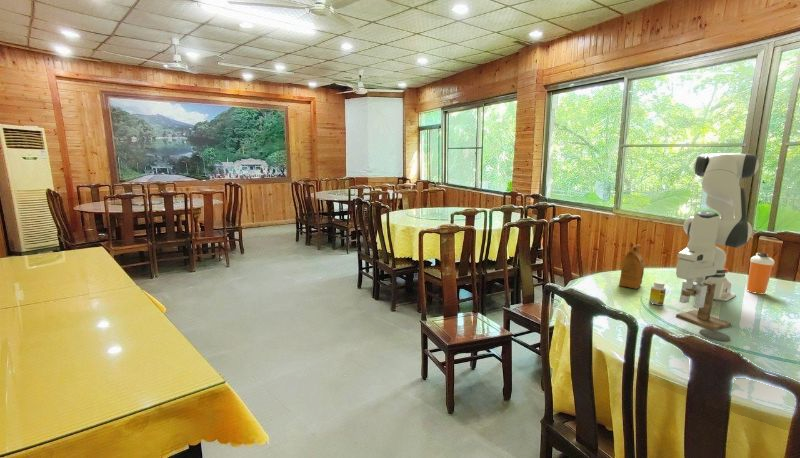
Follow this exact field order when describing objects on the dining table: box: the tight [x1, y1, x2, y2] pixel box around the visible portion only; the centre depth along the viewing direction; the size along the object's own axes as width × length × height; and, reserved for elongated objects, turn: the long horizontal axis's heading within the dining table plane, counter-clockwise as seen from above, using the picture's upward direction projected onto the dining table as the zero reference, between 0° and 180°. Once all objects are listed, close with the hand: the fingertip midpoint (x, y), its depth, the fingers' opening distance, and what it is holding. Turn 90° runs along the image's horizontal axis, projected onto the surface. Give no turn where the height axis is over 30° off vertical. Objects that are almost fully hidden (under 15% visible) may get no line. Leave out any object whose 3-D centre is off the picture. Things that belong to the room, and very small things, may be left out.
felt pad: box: [698, 328, 731, 342], centre depth 146 cm, size 9×9×1 cm
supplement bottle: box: [648, 280, 667, 306], centre depth 177 cm, size 6×6×10 cm
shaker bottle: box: [746, 252, 775, 294], centre depth 197 cm, size 9×9×20 cm
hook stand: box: [675, 282, 732, 331], centre depth 156 cm, size 22×14×16 cm, turn 114°
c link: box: [678, 280, 707, 309], centre depth 153 cm, size 4×7×9 cm, turn 24°
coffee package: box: [618, 243, 645, 289], centre depth 201 cm, size 10×12×22 cm
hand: (694, 287), depth 153 cm, fingers closed on c link, 3 cm apart
